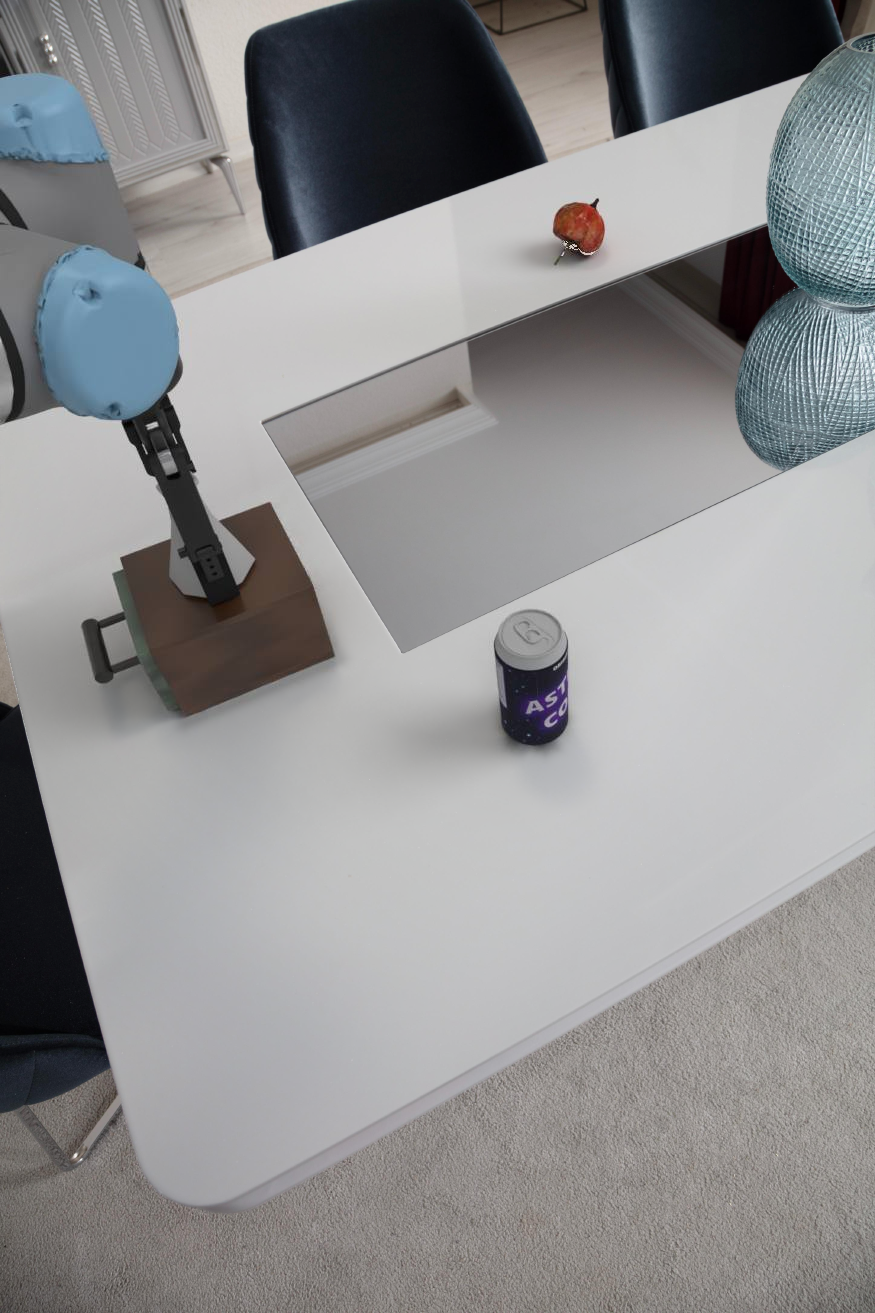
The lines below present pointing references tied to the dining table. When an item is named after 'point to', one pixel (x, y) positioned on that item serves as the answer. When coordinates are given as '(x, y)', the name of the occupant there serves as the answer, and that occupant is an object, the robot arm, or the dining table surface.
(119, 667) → the drawer
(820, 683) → the dining table surface
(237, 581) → the flask
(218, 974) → the dining table surface
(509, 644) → the beverage can
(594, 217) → the pomegranate
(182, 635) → the cabinet
